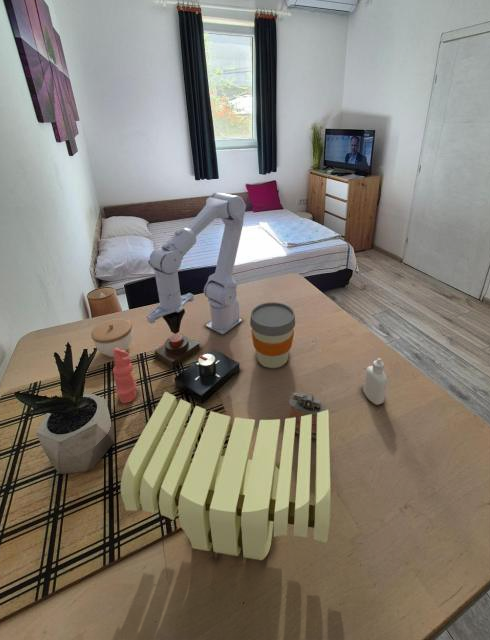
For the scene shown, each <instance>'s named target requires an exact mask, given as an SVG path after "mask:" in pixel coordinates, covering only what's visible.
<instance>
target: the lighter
mask: <svg viewBox="0 0 490 640" xmlns="http://www.w3.org/2000/svg"><path fill="white" fill-rule="evenodd" d="M288 405H289V418H295V417H296V423H295V434H298V435H300V425H301V416H305V415H310V414H312V423H311V439H316V433H317V413H318V412H322V411H325V410H327V407H326V406H325V404H323V403H322V400H321V399H320V398H317V397H314V395H313V394H311V393H308V394H303V393H299V392H293V393H292V397H291V398H289V401H288Z"/></svg>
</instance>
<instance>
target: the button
mask: <svg viewBox="0 0 490 640" xmlns="http://www.w3.org/2000/svg"><path fill="white" fill-rule="evenodd" d="M169 338H170V345H171V346H172V347H177V346H180V345H181V344H182V343H183V339H182V336H181V335H180V334H179V333H177V334H172V335H171V336H170V337H169Z"/></svg>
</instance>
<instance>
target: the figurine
mask: <svg viewBox="0 0 490 640" xmlns="http://www.w3.org/2000/svg"><path fill="white" fill-rule="evenodd" d="M128 355H130V353H129V352H128V351H127V350H126V351H123V350H119V349H118V348H115V349H114V357H113V360H114V366H113V368H112V374H113V375H114V376H113V380H114V383H115V388H114V392H115V394H117V396H118V399H119V402H120V403H124V404H128V403H130V402H132V401H134V400H135V398H136V397H137V391H136V387H137V384H138V383H137V381H136V380H135V379H134V376H133V373H132V371H133V369H134V366H133V363H132V361H131V359H130V357H128Z"/></svg>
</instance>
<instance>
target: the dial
mask: <svg viewBox="0 0 490 640" xmlns="http://www.w3.org/2000/svg"><path fill="white" fill-rule="evenodd" d="M197 361H198V364H199V372H200V374H201V375H203V376H210V375H212V374H214V373H215V371H216V361H215V357H214V356H213V355H211V354H207V353H205V354H201V355H199V357H198V359H197Z"/></svg>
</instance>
